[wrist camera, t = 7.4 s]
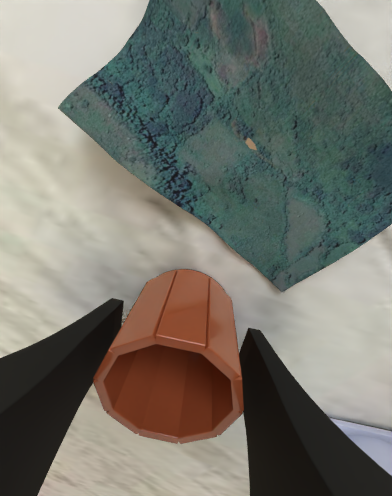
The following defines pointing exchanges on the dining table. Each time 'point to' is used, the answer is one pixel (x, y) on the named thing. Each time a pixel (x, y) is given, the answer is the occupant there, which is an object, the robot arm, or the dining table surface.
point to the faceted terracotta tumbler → (175, 361)
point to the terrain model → (250, 127)
